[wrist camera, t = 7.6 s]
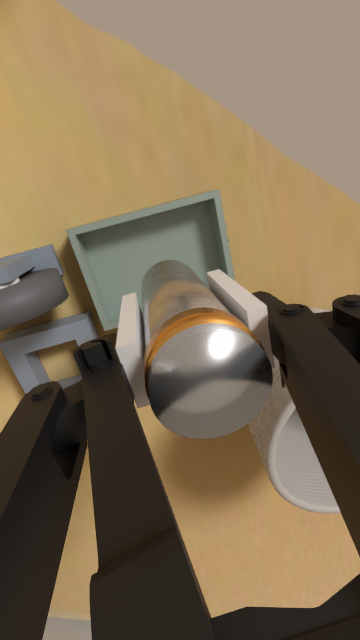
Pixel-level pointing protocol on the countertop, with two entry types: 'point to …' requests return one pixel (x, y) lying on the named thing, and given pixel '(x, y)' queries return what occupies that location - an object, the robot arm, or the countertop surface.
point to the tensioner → (36, 314)
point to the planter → (290, 450)
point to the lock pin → (199, 357)
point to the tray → (149, 248)
